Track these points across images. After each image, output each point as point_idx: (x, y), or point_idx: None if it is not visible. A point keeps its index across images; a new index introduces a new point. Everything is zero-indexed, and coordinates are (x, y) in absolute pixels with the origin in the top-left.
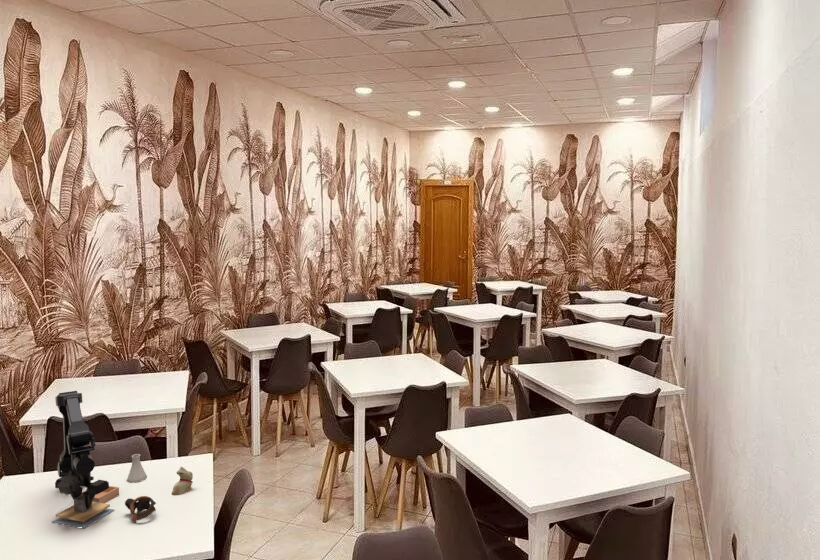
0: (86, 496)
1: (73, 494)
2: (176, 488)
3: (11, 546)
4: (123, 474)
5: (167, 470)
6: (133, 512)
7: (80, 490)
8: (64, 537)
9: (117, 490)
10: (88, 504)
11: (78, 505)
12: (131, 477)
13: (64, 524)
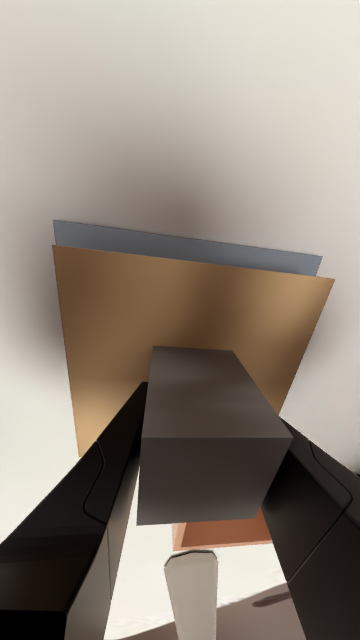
0: (52, 540)
1: (349, 514)
2: None
3: None
4: (248, 563)
5: (143, 598)
6: None
7: (302, 587)
8: (76, 27)
9: (173, 531)
10: (123, 412)
11: (203, 380)
12: (196, 577)
13: (222, 243)
